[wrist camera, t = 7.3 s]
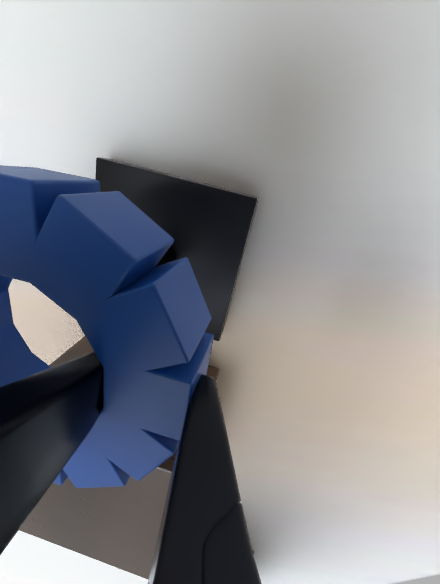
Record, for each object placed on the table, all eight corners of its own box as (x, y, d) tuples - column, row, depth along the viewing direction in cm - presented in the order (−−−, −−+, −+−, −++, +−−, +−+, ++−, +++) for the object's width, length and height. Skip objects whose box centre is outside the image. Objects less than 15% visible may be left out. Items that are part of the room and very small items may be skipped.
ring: (238, 207, 7) (220, 219, 5) (190, 458, 10) (169, 524, 8) (-78, 144, 8) (-202, 131, 6) (-20, 391, 11) (-84, 434, 9)
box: (222, 367, 20) (191, 479, 12) (195, 459, 24) (160, 584, 17) (90, 326, 21) (-14, 407, 13) (86, 422, 25) (6, 525, 17)
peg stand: (258, 197, 15) (245, 211, 8) (222, 332, 19) (191, 422, 12) (108, 158, 16) (-23, 141, 9) (100, 295, 20) (3, 360, 13)
